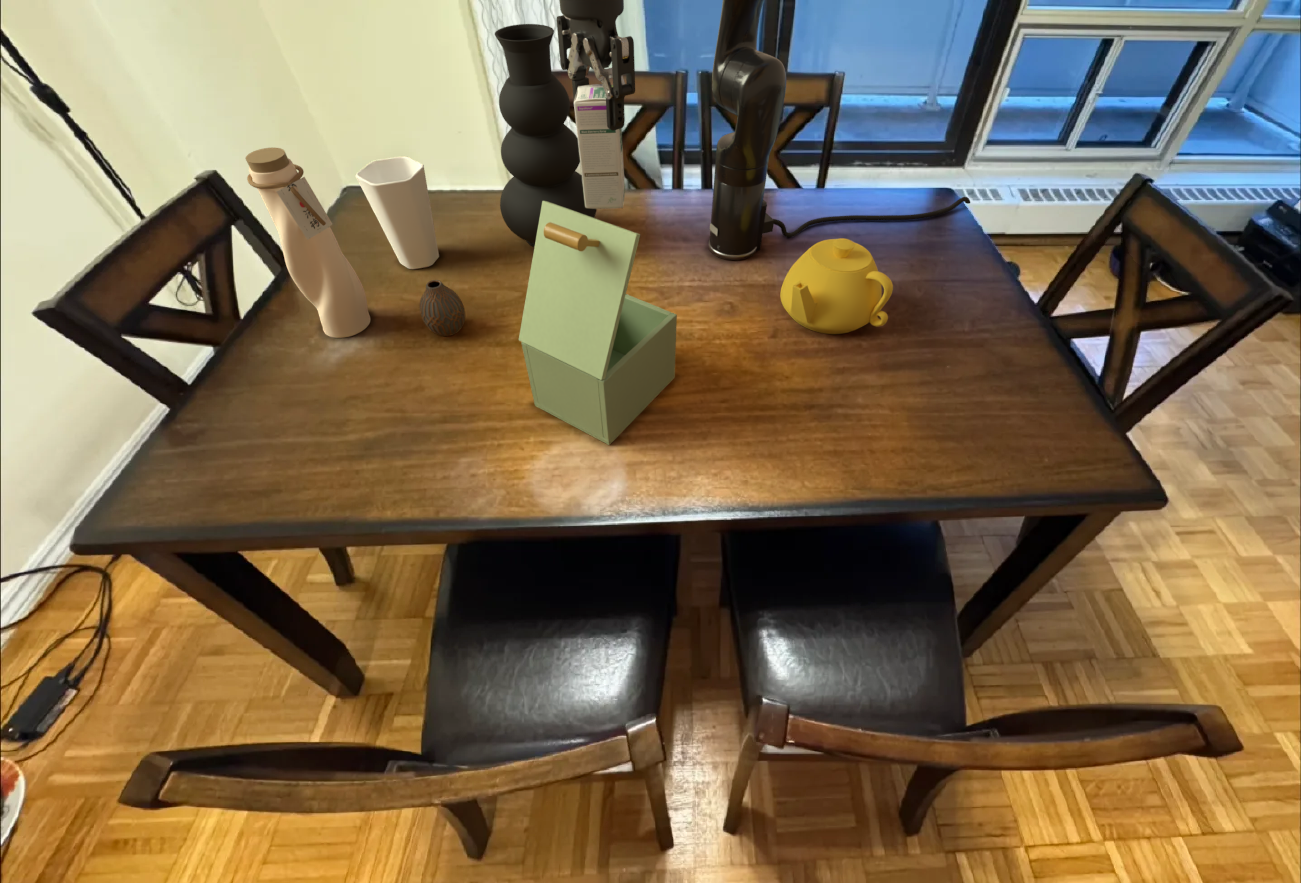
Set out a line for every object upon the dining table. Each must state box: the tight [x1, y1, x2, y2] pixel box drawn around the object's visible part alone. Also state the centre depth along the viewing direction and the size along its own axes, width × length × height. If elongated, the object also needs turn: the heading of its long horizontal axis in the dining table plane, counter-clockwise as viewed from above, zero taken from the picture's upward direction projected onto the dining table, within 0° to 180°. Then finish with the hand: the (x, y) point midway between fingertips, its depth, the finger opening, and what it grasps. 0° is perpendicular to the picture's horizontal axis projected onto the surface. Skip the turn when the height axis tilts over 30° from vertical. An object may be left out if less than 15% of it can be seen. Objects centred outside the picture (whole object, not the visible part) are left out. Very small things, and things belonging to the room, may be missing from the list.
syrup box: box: [573, 83, 626, 210], centre depth 81 cm, size 6×6×14 cm
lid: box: [518, 201, 641, 380], centre depth 69 cm, size 18×14×5 cm
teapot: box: [779, 237, 894, 335], centre depth 96 cm, size 20×19×13 cm
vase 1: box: [419, 279, 466, 337], centre depth 95 cm, size 7×7×9 cm
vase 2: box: [494, 23, 598, 248], centre depth 105 cm, size 18×18×35 cm
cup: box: [355, 155, 440, 270], centre depth 107 cm, size 11×10×17 cm
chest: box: [521, 293, 678, 446], centre depth 84 cm, size 17×14×12 cm
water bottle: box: [245, 147, 371, 339], centre depth 89 cm, size 10×9×28 cm
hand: (598, 118), depth 78 cm, fingers closed on syrup box, 7 cm apart
